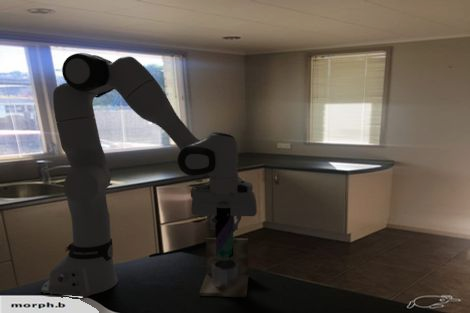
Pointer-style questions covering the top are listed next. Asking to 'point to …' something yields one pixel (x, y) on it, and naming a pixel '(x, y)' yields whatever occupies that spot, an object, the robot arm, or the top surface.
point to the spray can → (224, 232)
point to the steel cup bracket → (225, 274)
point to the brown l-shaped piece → (242, 259)
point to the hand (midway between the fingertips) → (224, 229)
